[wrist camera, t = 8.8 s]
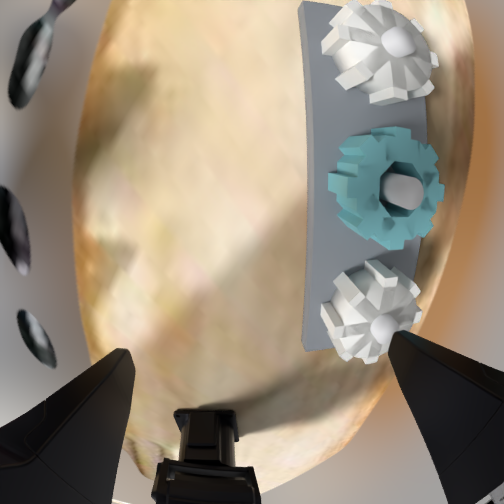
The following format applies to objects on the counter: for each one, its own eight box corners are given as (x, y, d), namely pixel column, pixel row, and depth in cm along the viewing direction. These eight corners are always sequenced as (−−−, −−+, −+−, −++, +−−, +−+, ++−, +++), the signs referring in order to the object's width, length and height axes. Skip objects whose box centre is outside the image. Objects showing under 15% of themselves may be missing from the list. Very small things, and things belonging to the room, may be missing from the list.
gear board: (392, 325, 23) (421, 361, 17) (301, 340, 22) (318, 387, 17) (404, 33, 14) (444, 13, 8) (297, 9, 13) (319, -30, 8)
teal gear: (412, 233, 18) (437, 246, 15) (326, 237, 17) (343, 253, 15) (418, 136, 15) (445, 137, 13) (327, 124, 15) (347, 119, 12)
